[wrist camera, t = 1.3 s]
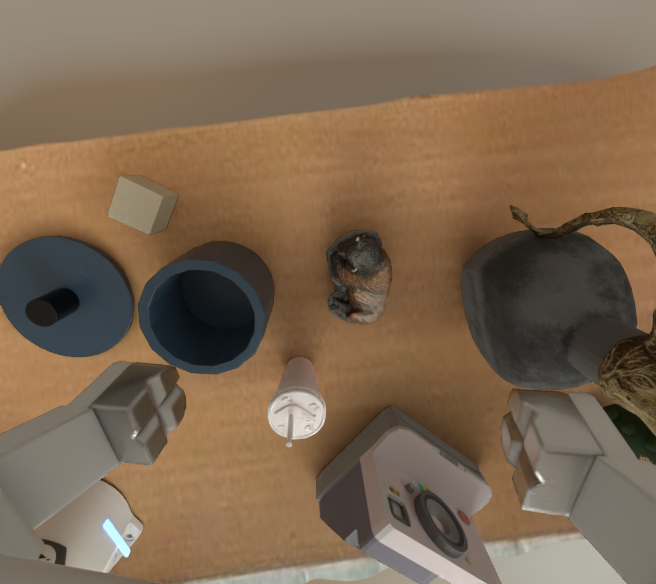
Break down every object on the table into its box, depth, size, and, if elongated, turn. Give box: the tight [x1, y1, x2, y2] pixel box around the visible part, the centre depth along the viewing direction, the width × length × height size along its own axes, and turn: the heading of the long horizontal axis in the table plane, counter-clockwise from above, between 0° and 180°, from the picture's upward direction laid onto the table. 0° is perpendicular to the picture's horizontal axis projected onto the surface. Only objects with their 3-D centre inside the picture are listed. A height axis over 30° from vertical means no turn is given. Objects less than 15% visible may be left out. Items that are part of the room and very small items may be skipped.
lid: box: [0, 236, 134, 357], centre depth 40 cm, size 15×15×5 cm
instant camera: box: [316, 406, 502, 584], centre depth 47 cm, size 21×21×15 cm
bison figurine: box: [326, 230, 392, 324], centre depth 39 cm, size 12×7×10 cm, turn 7°
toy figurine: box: [603, 404, 656, 465], centre depth 45 cm, size 9×19×25 cm
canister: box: [138, 241, 274, 374], centre depth 39 cm, size 12×12×10 cm
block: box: [107, 175, 179, 235], centre depth 38 cm, size 4×4×4 cm
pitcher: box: [461, 205, 656, 436], centre depth 30 cm, size 11×19×30 cm, turn 15°
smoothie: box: [267, 357, 326, 447], centre depth 41 cm, size 6×6×14 cm
